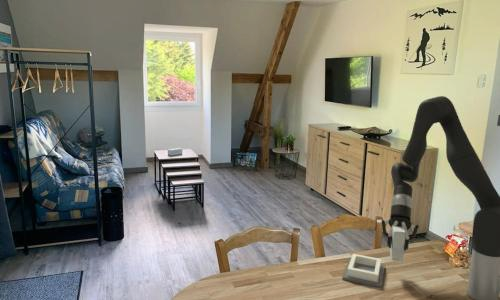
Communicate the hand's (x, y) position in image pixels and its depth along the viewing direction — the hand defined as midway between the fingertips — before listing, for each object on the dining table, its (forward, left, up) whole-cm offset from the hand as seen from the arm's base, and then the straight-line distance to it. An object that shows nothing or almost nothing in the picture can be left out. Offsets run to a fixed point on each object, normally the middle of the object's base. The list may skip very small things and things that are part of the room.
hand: (397, 248), depth 144 cm
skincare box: (0, -3, -5) cm, 6 cm away
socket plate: (+11, +1, -12) cm, 16 cm away
